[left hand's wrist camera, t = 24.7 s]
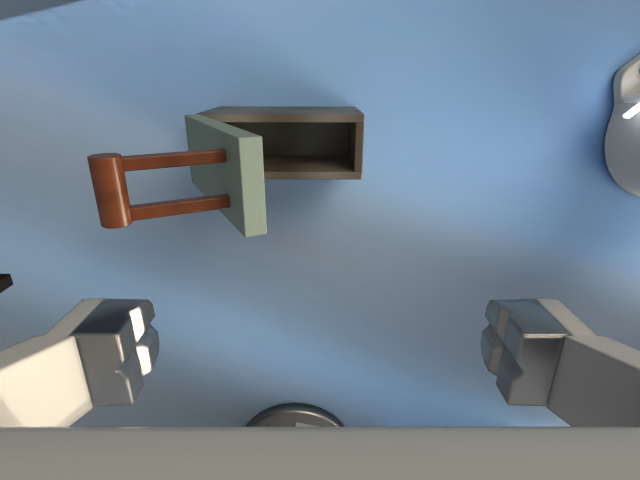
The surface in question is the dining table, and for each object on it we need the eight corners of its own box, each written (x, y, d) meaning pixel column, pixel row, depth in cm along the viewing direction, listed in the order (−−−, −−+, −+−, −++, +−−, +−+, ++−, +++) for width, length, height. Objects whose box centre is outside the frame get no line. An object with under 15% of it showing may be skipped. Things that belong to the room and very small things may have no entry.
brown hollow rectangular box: (355, 106, 42) (364, 114, 34) (354, 160, 44) (361, 179, 36) (219, 106, 42) (195, 113, 34) (223, 160, 44) (202, 179, 36)
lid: (262, 136, 21) (82, 147, 18) (267, 234, 23) (106, 261, 20) (200, 114, 33) (85, 118, 30) (207, 180, 35) (100, 191, 32)
